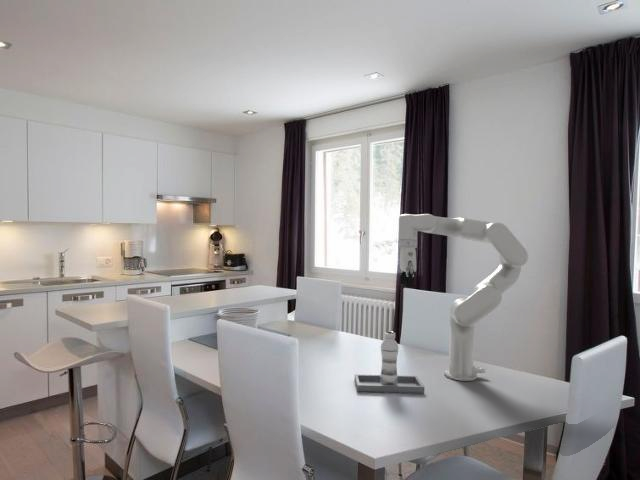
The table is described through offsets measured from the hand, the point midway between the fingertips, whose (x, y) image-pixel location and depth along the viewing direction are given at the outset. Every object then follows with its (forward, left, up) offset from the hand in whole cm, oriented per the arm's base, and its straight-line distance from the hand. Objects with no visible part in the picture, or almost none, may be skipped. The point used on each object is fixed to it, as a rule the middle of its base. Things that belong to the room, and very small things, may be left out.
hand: (406, 285), depth 182 cm
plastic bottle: (+10, +20, -36) cm, 42 cm away
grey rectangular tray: (+10, +19, -36) cm, 42 cm away
